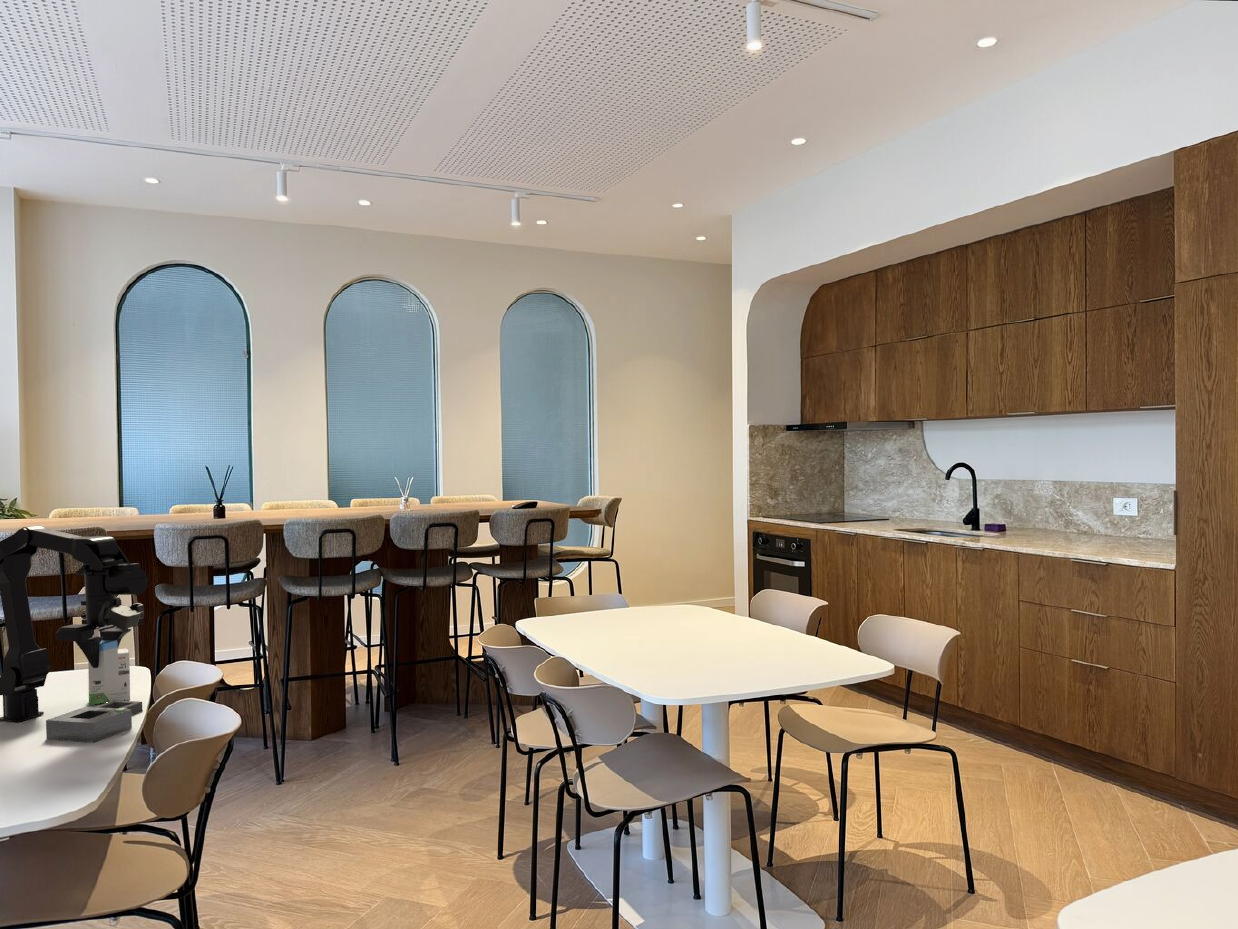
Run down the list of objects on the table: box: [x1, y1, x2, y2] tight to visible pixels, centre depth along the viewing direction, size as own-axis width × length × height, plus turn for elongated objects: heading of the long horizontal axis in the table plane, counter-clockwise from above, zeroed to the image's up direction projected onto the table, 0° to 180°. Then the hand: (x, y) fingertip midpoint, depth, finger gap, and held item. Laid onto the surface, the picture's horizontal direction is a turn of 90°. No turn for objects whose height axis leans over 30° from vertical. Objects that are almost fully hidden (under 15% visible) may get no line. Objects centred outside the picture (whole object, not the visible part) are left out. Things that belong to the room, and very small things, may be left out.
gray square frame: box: [95, 700, 143, 715], centre depth 203 cm, size 8×8×2 cm
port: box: [45, 706, 133, 744], centre depth 189 cm, size 12×10×4 cm
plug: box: [87, 640, 119, 682], centre depth 196 cm, size 4×4×8 cm
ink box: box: [88, 648, 131, 706], centre depth 215 cm, size 9×5×12 cm, turn 123°
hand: (103, 665), depth 196 cm, fingers closed on plug, 4 cm apart
